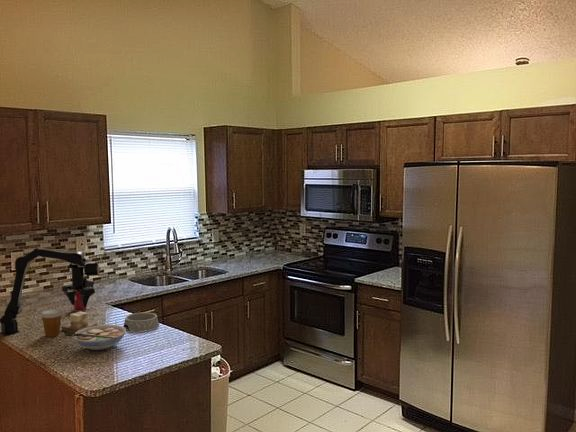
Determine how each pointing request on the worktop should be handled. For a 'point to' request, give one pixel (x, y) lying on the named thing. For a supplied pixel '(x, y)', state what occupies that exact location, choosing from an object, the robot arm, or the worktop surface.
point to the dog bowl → (141, 321)
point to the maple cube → (79, 319)
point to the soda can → (78, 303)
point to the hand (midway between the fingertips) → (79, 306)
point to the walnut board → (75, 329)
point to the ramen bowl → (99, 336)
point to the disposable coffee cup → (51, 322)
